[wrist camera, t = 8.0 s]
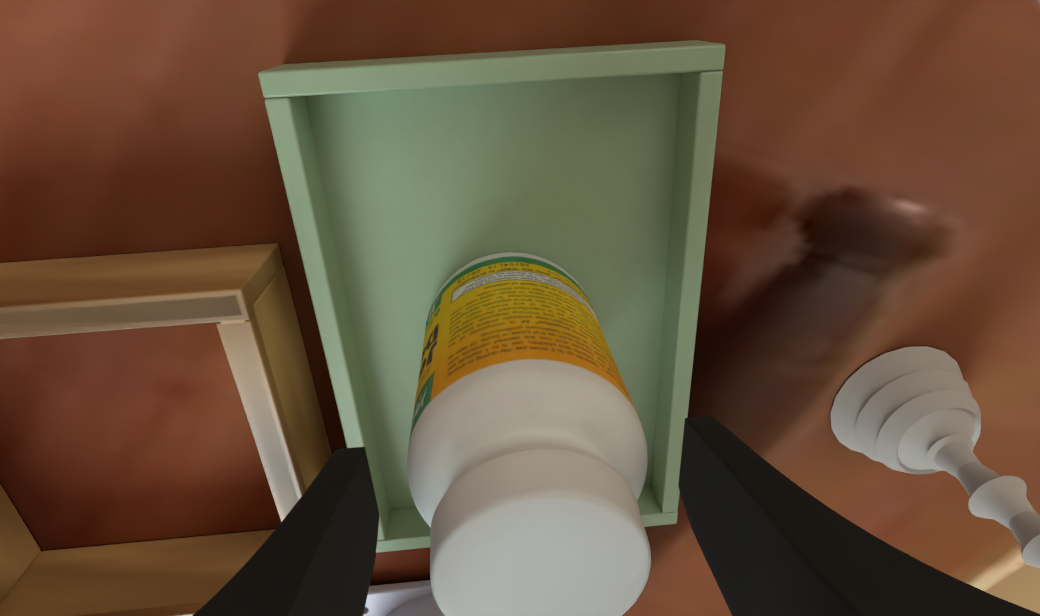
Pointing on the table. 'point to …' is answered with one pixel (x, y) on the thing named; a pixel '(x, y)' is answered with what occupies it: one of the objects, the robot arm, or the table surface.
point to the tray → (500, 219)
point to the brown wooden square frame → (260, 383)
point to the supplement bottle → (526, 448)
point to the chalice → (930, 433)
